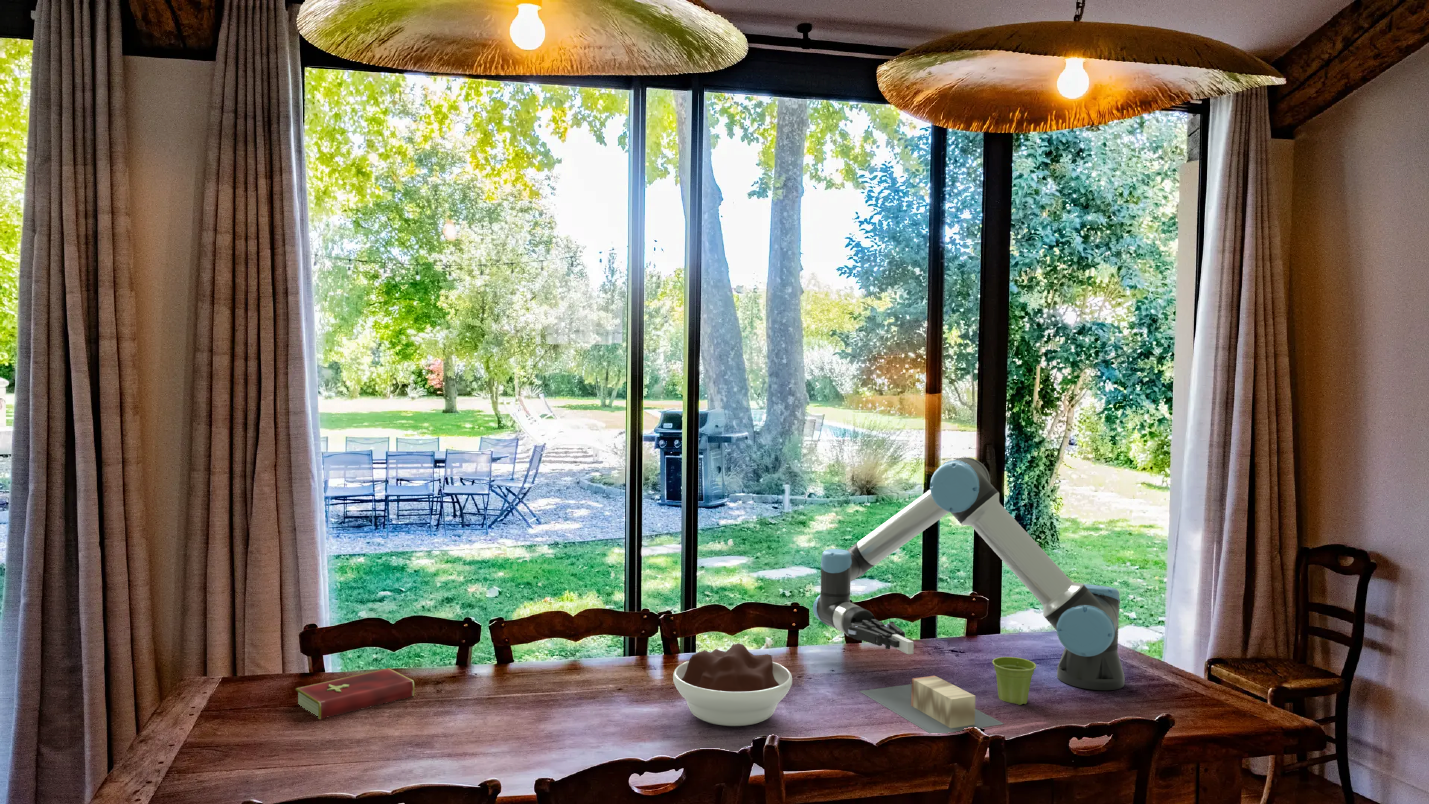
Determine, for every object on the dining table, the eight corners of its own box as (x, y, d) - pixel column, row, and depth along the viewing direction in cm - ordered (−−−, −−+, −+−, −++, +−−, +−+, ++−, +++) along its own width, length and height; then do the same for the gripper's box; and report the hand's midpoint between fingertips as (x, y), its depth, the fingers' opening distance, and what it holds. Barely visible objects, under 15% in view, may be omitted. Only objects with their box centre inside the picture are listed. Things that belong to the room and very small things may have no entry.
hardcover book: (414, 698, 214) (414, 679, 213) (319, 722, 199) (319, 701, 199) (388, 685, 222) (388, 666, 222) (295, 706, 207) (295, 687, 207)
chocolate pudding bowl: (796, 741, 193) (798, 666, 192) (669, 739, 192) (671, 663, 192) (786, 698, 218) (787, 631, 217) (674, 696, 217) (675, 629, 217)
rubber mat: (858, 693, 222) (858, 691, 221) (924, 684, 229) (924, 682, 229) (932, 738, 196) (933, 735, 196) (1004, 726, 203) (1004, 723, 203)
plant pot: (1037, 710, 213) (1038, 671, 213) (992, 706, 215) (994, 667, 215) (1032, 696, 222) (1033, 658, 222) (989, 692, 224) (990, 655, 224)
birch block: (911, 678, 212) (951, 699, 200) (934, 675, 215) (975, 695, 202) (911, 705, 213) (950, 728, 200) (933, 702, 215) (974, 724, 202)
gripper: (876, 634, 242) (934, 661, 221) (831, 639, 237) (885, 667, 216) (877, 604, 242) (935, 628, 221) (832, 608, 237) (886, 634, 215)
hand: (910, 648), depth 218 cm, fingers closed
